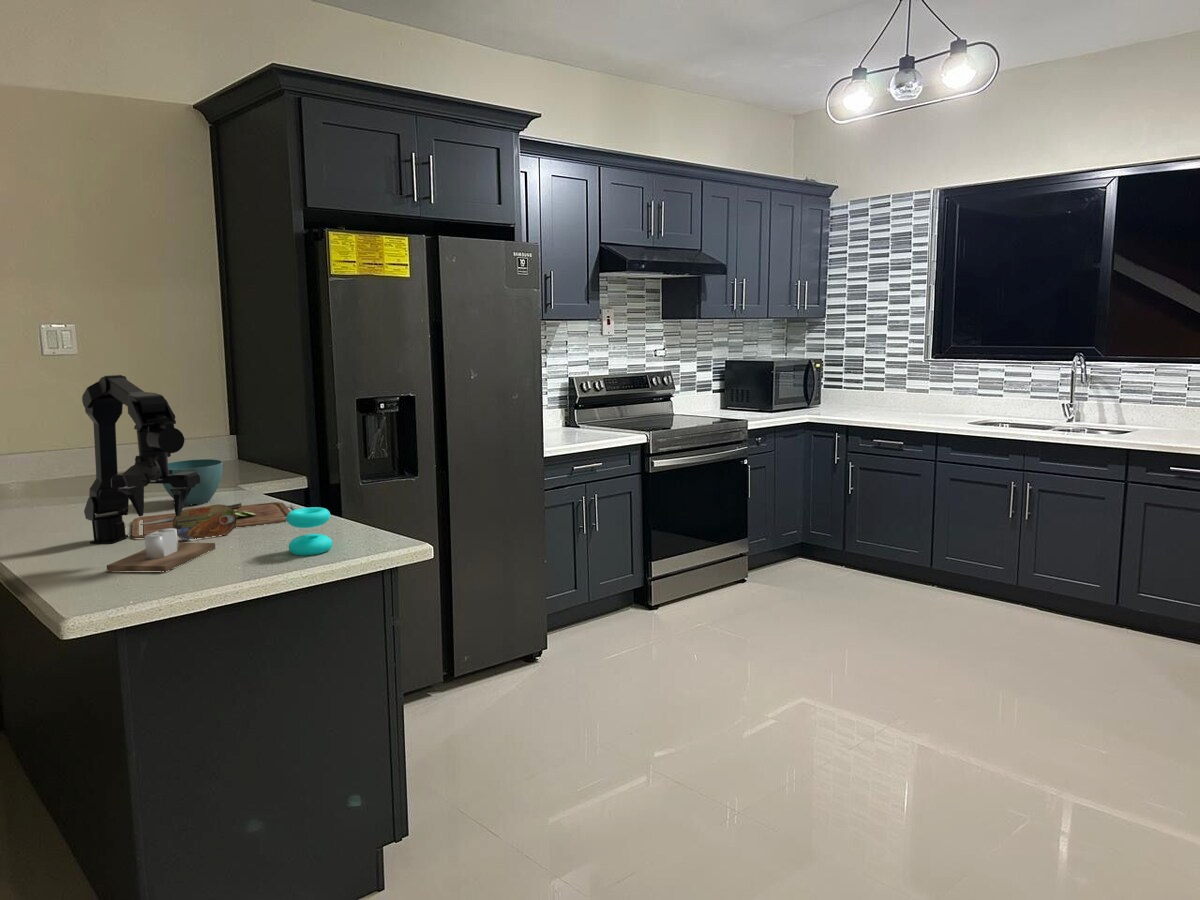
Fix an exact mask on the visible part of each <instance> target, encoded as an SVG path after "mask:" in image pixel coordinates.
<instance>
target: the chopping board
mask: <svg viewBox="0 0 1200 900" xmlns="http://www.w3.org/2000/svg"><path fill="white" fill-rule="evenodd" d="M227 506H229V507H230V508H231V509H232V510H233V511H234V512H235V514H236V520H237V521H236V525H235V527H234V529H237V528H236V527H242V528H247V527H246V526H251V527H257V526H256V525H259V526H265V525H264V524H267V525H272V524H271V523H275V524H280V523H279V522H284V523H287V522H286V521H287V520H286V518H285V517H287V514H288V513H289V512H291V510H290V509H289V508H291V509H292V511H293V510H296V509H297V508H296V507H295V506H294V505H293V504H290V505H287V506H286V504H285V503H284V502H280V501H276V502H275V501H273V502H272V501H271V502H263V503H255V504H246V505H245V504H244V505H242V503H235V504H230V505H227ZM175 516H176V514H175V512H173V513H164V514H155V515H145V516H144V515H143V516H138V517H136V518H133V519H132V530H131V531H132V533H128V534H126V533H125V534H126V535H131V534H132V536H131V537H133V538H144V536H146V535H149V534H151V533H154V532H156V531H159V530H162V529H169V528H173V520H174V518H175ZM140 520H143V524H140V525H143V535H139V521H140ZM130 524H131V523H129V524H128V523H125V522H124V525H125V528H126V527H127V526H126V525H130ZM133 538H132V539H133Z"/></svg>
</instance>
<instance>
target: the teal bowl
mask: <svg viewBox="0 0 1200 900" xmlns="http://www.w3.org/2000/svg"><path fill="white" fill-rule="evenodd" d="M223 465H224V463H223V460H221V459H213V458H203V459H200V458H197V459H185V460H179V461H178V460H177V461H173V462H168V468H169V470H172V473H173V474H170V475H169V476H171V475H174V474H177V473H180V472H197V473H198V474H199V476H200V483H199V484H196V485H195V487H193V488H191V490H190V492H189V494H188V496H187V498H186V501H185V504H184V506H192V505H191V504H198V505H202V503H203V504H206V502H207V503H208V501H209V502H210V500H212V498H213V497H214V495H215V493H216V492H217V490H218V488H219V486H220V483H221V481H222V476H223V467H224V466H223ZM161 480H162V479H161ZM162 485H163V487H164V489H165V491H166V492H167V493H168V495H169V496H170V498H172V499H173V500H174V496H173V494H172V492H171V491H170V489H172V488H173V487H172V486H171V485H170V484H162Z"/></svg>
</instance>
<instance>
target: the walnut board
mask: <svg viewBox="0 0 1200 900" xmlns="http://www.w3.org/2000/svg"><path fill="white" fill-rule="evenodd" d="M178 548H179V550H178V551H176V552H174V553H172V554H169V555H167V556H165V557H162V558H158V559H147V558H146V548H145V549H142V550H140V551H137V552H135V553H133V554H131V555H128V556H126V557H124V558H121V559H119V560H116V561H114V562H112V563H110V564H107V565H106V571H107V570H108V571H161V572H162V571H164V572H166V571H168V570H170V569H172V568H174V567H177V566H179V565H181V564H183V563H185V562H187V561H189V560H191V559H193V560H195V559H197V558H196V557H198V556H200V555H202V554H204V553H206V554H208V553H209V552H208V551H210V552H212V551H214V550H216V542H178ZM213 549H214V550H213ZM211 550H212V551H211ZM207 552H208V553H207ZM204 555H205V554H204ZM202 556H203V555H202ZM200 557H201V556H200ZM194 558H195V559H194ZM198 558H199V557H198ZM191 561H192V560H191ZM189 562H190V561H189ZM187 563H188V562H187ZM185 564H186V563H185ZM183 565H184V564H183ZM181 566H182V565H181ZM179 567H180V566H179ZM177 568H178V567H177ZM170 571H171V570H170ZM168 572H169V571H168ZM166 573H167V572H166Z"/></svg>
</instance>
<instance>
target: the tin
mask: <svg viewBox="0 0 1200 900" xmlns="http://www.w3.org/2000/svg"><path fill="white" fill-rule="evenodd" d="M236 521H237V520H236V514H235V512H234V511H233V510H232V509H231V508H230V507H229V506H228V505H227V504H226V505H225V504H221V503H219V504H218V503H217V504H216V503H215V504H211V505H210V504H209V505H204V506H198V507H197V506H196V507H195V506H194V507H189V508H185V509H184V508H183V509H182V512H181V514H180V516H178V517H177V516H175V518H174V520H173V528H175V529H177V537H178V539H180V540H183V541H185V540H189V539H195V538H196V539H197V538H205V537H212V536H219V535H225V536H227V535H228V534H230V533H232V532H233V530H234V529H235V528H234V527H235V525H236Z"/></svg>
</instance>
